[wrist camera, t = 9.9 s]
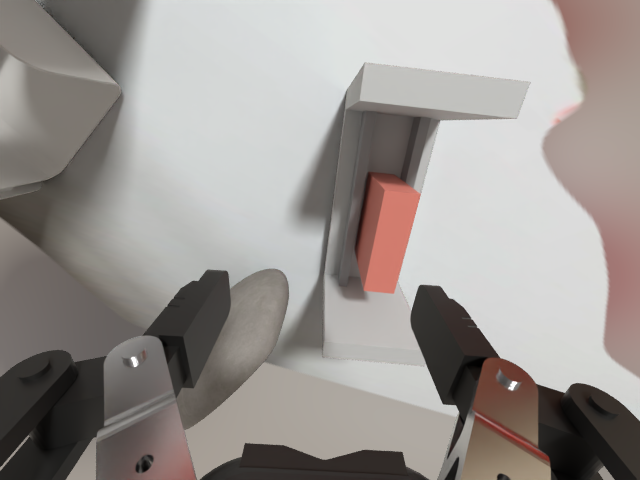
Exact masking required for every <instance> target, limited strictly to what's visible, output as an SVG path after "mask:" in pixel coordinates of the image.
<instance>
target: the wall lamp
mask: <svg viewBox="0 0 640 480" xmlns="http://www.w3.org/2000/svg"><path fill="white" fill-rule="evenodd" d="M120 94H121V87H120V86H119V85H118V84H117V83H116V82H115V81H114V80H113V79H112V78H111V77H110V76H109V75H108V74H107V73H106V72H105V71H104V70H103V69H102V68H101V67H100V66H99V65H98V64H97V62H96V61H95V60H94V59H93V58H92V57H91V56H90V55H89V54H88V53H87V52H86V51H85V50H84V49H83V48H82V47H81V46H80V45H79V44H78V43H77V42H76V41H75V40H74V39H73V38H72V37H71V36H70V35H69V34H68V33H67V32H66V31H65V30H64V29H63V28H62V27H61V26H60V25H59V24H58V23H57V22H56V21H55V20H54V19H53V18H52V17H51V16H50V15H49V14H48V13H47V12H46V11H45V10H44V9H43V8H42V7H41V6H40V5H39V4H38V3H37V2H36V1H35V0H0V200H1V199H6V198H10V197H14V196H18V195H22V194H27V193H31V192H35V191H38V190H40V189H41V187H42V183H41V181H44V180H48V179H50V178H52V177H54V176H56V175H58V174H59V173H61V172H62V171H63V170H64V169H65V167H66V166H67V165H68V164H69V162H70V161H71V160H72V158H73V157H74V156H75V154H76V153H77V152H78V150H79V149H80V148H81V146H82V145H83V144H84V143H85V141H86V140H87V139H88V137H89V136H90V135H91V133H92V132H93V131H94V129H95V128H96V127H97V125H98V124H99V123H100V122H101V120H102V119H103V118H104V116H105V115H106V114H107V112H108V111H109V110H110V108H111V107H112V106H113V104H114V103H115V102H116V100H117V99H118V98H119V96H120Z"/></svg>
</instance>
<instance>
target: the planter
mask: <svg viewBox="0 0 640 480" xmlns="http://www.w3.org/2000/svg"><path fill="white" fill-rule="evenodd" d="M230 297H231V307H230V312H229V315H228V318H227V320H226V322H225V324H224V326H223V328H222V330H221V332H220V334H219V337H218V339H217V341H216V343H215V345H214V347H213V349H212V351H211V354H210V356H209V358H208V360H207V362H206V364H205V366H204V368H203V370H202V373H201V375H200V377H199V379H198V381H197V383H196V385H195V387H194V388H182V389H181V391H180V393H179V395H178V396H177V398H176V399H177V403H178V407H179V411H180V415H181V419H182V423H183V427H184V430H186V429H188V428H190V427H192V426H194V425H195V424H197V423H198V422H199V421H201V420H202V419H204V418H205V417H206V416H207V415H209V414H210V413H211V412H212V411H214V410H215V409H216V408H217V407H218V406H219V405H221V404H222V403H223V402H224V401H225V400H226V399H227V398H228V397H230V396H231V395H232V394H233V393H234V392H235V391H236V390H237V389H238V388H239V387H240V386H241V385H242V384H243V383H244V382H245V381H246V380H247V379H248V378H249V377H250V376H251V375H252V374H253V373H254V372H255V371H256V370H257V369H258V367H260V366H261V364H262V363H263V362H264V361H265V360H266V358H267V357H268V356H269V355H270V353H271V352H272V350H273V349H274V347H275V345H276V342H277V340H278V337H279V334H280V331H281V328H282V324H283V321H284V317H285V314H286V310H287V305H288V299H289V286H288V281H287V278H286V276H285V274H284V273H283V272H282V271H280V270H277V269H265V270H262V271H259V272H256V273H254V274H252V275H250V276H248V277H246V278H245V279H243V280H242V281H240V282H239V283H237V284H236V285H235V286H233V287H232V288H231V289H230Z"/></svg>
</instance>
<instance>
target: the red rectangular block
mask: <svg viewBox="0 0 640 480" xmlns="http://www.w3.org/2000/svg"><path fill="white" fill-rule="evenodd" d="M420 195H421V194H420V193H419V192H417V191H416V190H415V189H413V188H412V187H411V186H409V185H408V184H407V183H405V182H404V181H403V180H401V179H400V178H399V177H397V176H396V175H395V174H386V173H377V172H368V177H367V182H366V188H365V194H364V199H363V205H362V210H361V216H360V222H359V227H358V233H357V238H356V244H355V255H356V259H357V263H358V268H359V272H360V276H361V281H362V285H363V290H364V291H371V292H381V293H391V294H394V292H395V288H396V285H397V281H398V277H399V274H400V270H401V266H402V262H403V259H404V255H405V251H406V247H407V244H408V240H409V236H410V233H411V229H412V225H413V221H414V218H415V214H416V210H417V207H418V203H419V199H420Z"/></svg>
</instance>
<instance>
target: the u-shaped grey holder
mask: <svg viewBox="0 0 640 480" xmlns="http://www.w3.org/2000/svg"><path fill="white" fill-rule="evenodd" d="M530 83H531V82H527V81H518V80H510V79H501V78H493V77H484V76H476V75H467V74H459V73H450V72H442V71H433V70H425V69H417V68H408V67H400V66H391V65H383V64H374V63H366V62H365V63H364V65H363V66H362V68H361V69H360V71H359V72H358V74H357V75H356V77H355V78H354V80H353V82H352V83H351V85H350V86H349V88H348V89H347V94H346V102H345V110H344V118H343V126H342V134H341V142H340V150H339V158H338V166H337V174H336V182H335V190H334V197H333V205H332V213H331V221H330V229H329V237H328V245H327V253H326V261H325V269H324V277H323V336H322V357H325V358H336V359H347V360H358V361H369V362H380V363H391V364H403V365H414V366H425V363H426V362H425V360H424V357H423V355H422V352H421V350H420V347H419V345H418V343H417V340H416V338H415V335H414V333H413V330H412V328H411V323H410V316H411V309H410V307H409V305H408V302H407V300H406V298H405V296H404V294H403V291H402V289H401V287H400V285H399V283H398V281H397V285H396V288H395V292H394V294H391V293H381V292H371V291H364V290H363V285H362V281H361V276H360V272H359V268H358V263H357V259H356V255H355V244H356V238H357V233H358V227H359V222H360V216H361V210H362V205H363V199H364V194H365V188H366V182H367V177H368V172H377V173H386V174H395V175H396V176H397V177H399V178H400V179H401V180H403V181H404V182H405V183H407V184H408V185H409V186H411V187H412V188H413V189H415V190H416V191H417V192H419V193H420V194H421V192H422V188H423V184H424V180H425V176H426V173H427V169H428V165H429V161H430V158H431V154H432V150H433V146H434V143H435V139H436V135H437V131H438V127H439V124H440V120H479V119H517V117H518V115H519V112H520V109H521V107H522V104H523V101H524V99H525V96H526V93H527V91H528V88H529V85H530ZM413 222H414V221H413ZM409 237H410V236H409ZM408 241H409V240H408ZM406 248H407V247H406ZM405 252H406V251H405ZM404 256H405V255H404ZM402 263H403V262H402ZM401 267H402V266H401ZM400 271H401V270H400ZM399 275H400V274H399ZM398 278H399V277H398Z"/></svg>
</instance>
